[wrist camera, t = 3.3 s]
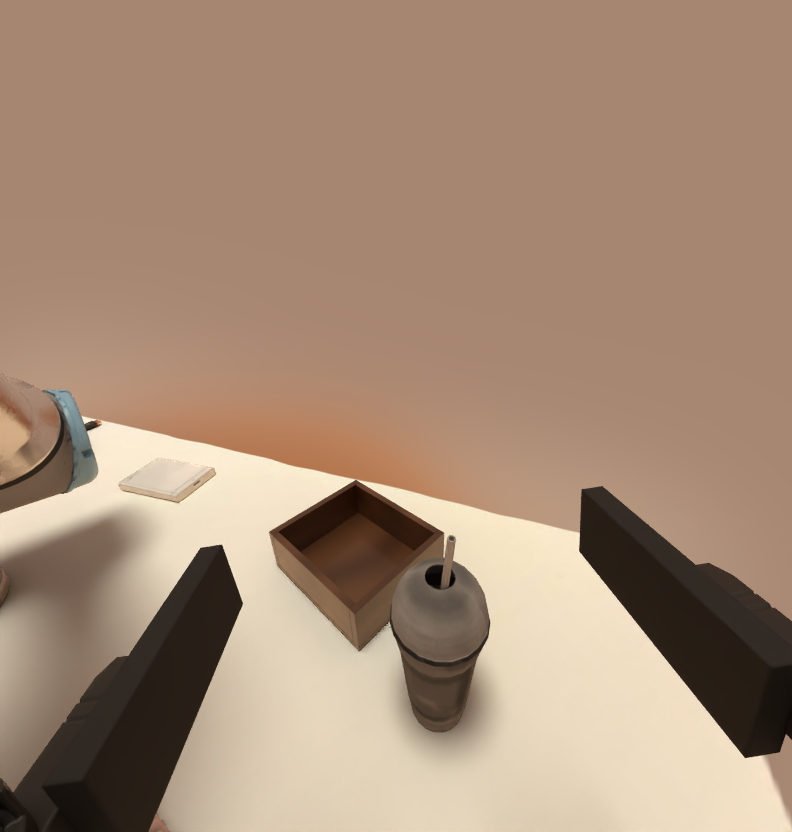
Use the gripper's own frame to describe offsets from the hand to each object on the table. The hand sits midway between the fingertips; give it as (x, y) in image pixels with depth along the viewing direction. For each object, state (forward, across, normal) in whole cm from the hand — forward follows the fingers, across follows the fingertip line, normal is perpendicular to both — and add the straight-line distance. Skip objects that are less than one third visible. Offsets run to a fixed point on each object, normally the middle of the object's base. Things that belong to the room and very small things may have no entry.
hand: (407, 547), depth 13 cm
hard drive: (+47, -39, -17) cm, 63 cm away
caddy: (+26, -6, -23) cm, 35 cm away
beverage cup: (+11, 0, -25) cm, 27 cm away
